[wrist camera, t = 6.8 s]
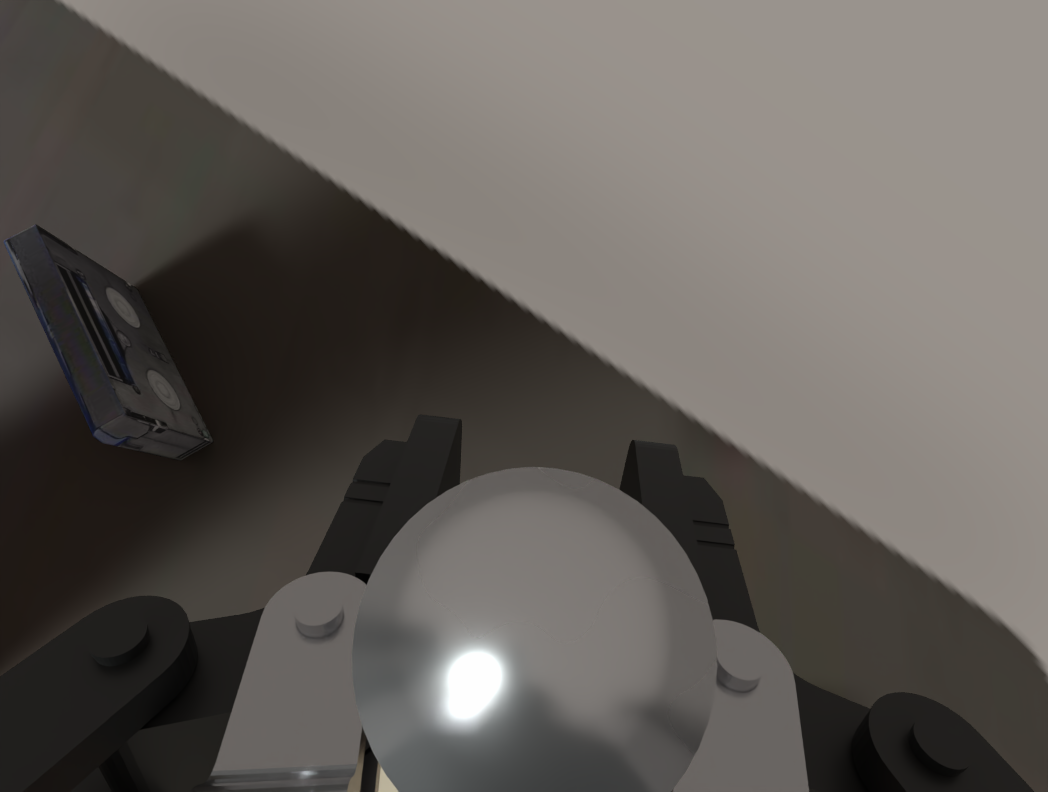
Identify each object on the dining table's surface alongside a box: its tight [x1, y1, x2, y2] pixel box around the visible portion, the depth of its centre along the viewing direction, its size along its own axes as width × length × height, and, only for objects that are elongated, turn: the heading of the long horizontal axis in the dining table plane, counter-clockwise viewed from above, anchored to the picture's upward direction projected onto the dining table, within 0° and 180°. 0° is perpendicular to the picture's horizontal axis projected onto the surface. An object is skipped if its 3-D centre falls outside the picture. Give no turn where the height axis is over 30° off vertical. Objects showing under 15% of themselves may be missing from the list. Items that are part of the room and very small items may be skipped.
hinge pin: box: [352, 467, 717, 792], centre depth 10 cm, size 3×3×10 cm
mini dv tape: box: [4, 225, 214, 461], centre depth 24 cm, size 8×2×6 cm, turn 31°
